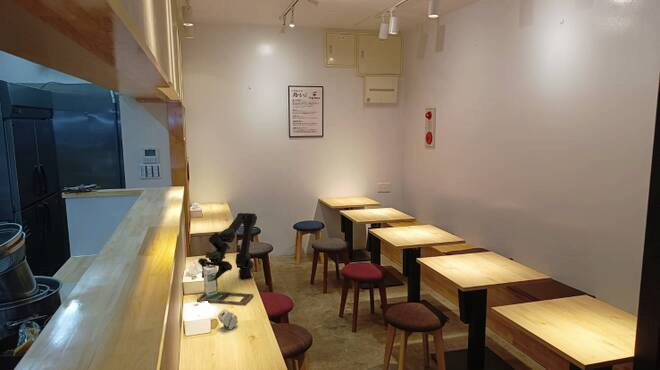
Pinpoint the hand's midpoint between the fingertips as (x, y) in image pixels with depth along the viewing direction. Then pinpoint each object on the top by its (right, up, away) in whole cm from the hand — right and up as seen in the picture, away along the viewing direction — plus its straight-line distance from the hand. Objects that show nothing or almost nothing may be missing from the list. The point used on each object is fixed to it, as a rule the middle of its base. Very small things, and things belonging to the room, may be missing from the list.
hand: (208, 278), depth 232 cm
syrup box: (+1, -8, +3) cm, 9 cm away
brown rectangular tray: (+9, -11, +1) cm, 14 cm away
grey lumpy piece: (+18, -16, -31) cm, 39 cm away
